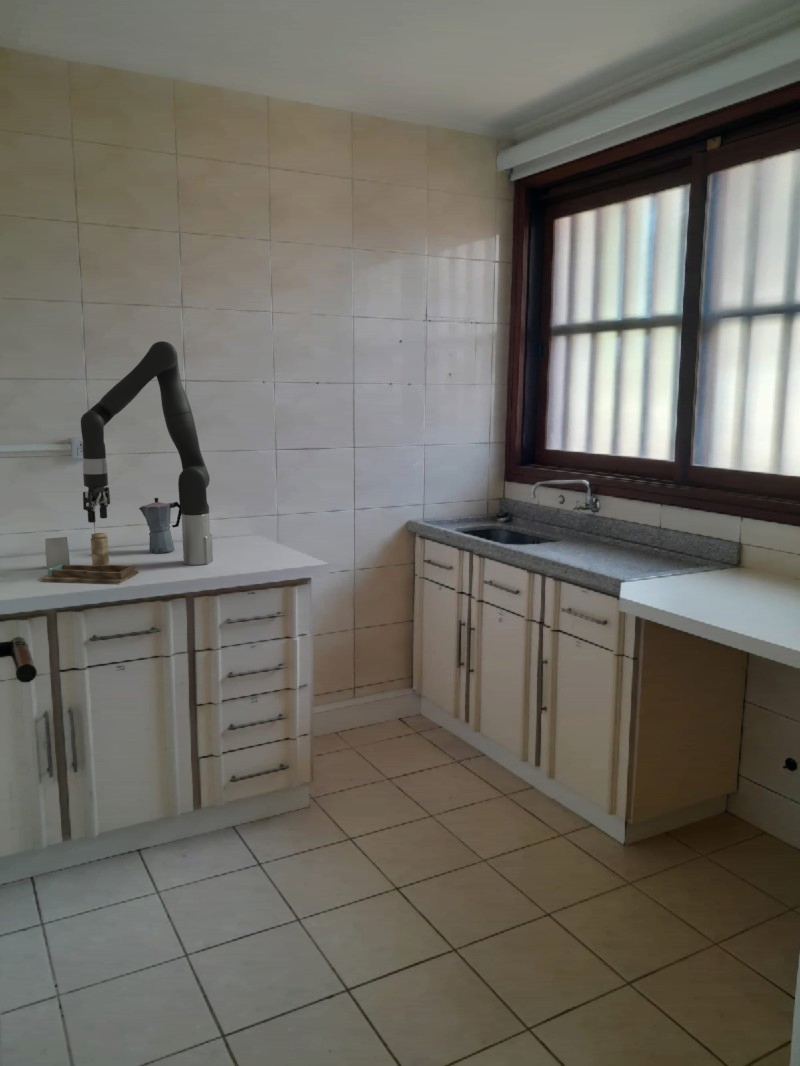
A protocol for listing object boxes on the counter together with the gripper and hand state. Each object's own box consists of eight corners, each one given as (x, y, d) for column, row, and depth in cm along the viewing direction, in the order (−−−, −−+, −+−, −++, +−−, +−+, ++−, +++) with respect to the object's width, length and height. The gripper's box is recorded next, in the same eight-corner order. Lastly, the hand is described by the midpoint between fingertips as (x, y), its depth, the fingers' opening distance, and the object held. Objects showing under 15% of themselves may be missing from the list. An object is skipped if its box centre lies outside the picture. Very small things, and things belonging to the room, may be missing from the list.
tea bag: (69, 567, 270) (67, 537, 268) (48, 569, 267) (45, 539, 265) (68, 564, 273) (66, 536, 271) (46, 567, 270) (44, 537, 268)
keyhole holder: (138, 573, 261) (138, 564, 261) (120, 583, 248) (119, 574, 247) (65, 571, 264) (64, 562, 263) (42, 581, 250) (41, 572, 249)
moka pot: (139, 550, 297) (136, 496, 293) (181, 547, 304) (179, 494, 300) (143, 555, 289) (140, 500, 285) (186, 551, 295) (184, 498, 291)
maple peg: (111, 565, 273) (109, 532, 271) (104, 568, 268) (102, 535, 266) (97, 564, 273) (95, 532, 271) (90, 568, 268) (88, 535, 266)
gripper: (96, 474, 258) (98, 524, 260) (115, 470, 271) (118, 517, 274) (73, 473, 258) (76, 523, 261) (94, 469, 272) (96, 516, 275)
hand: (97, 520), depth 268 cm, fingers open, 8 cm apart
